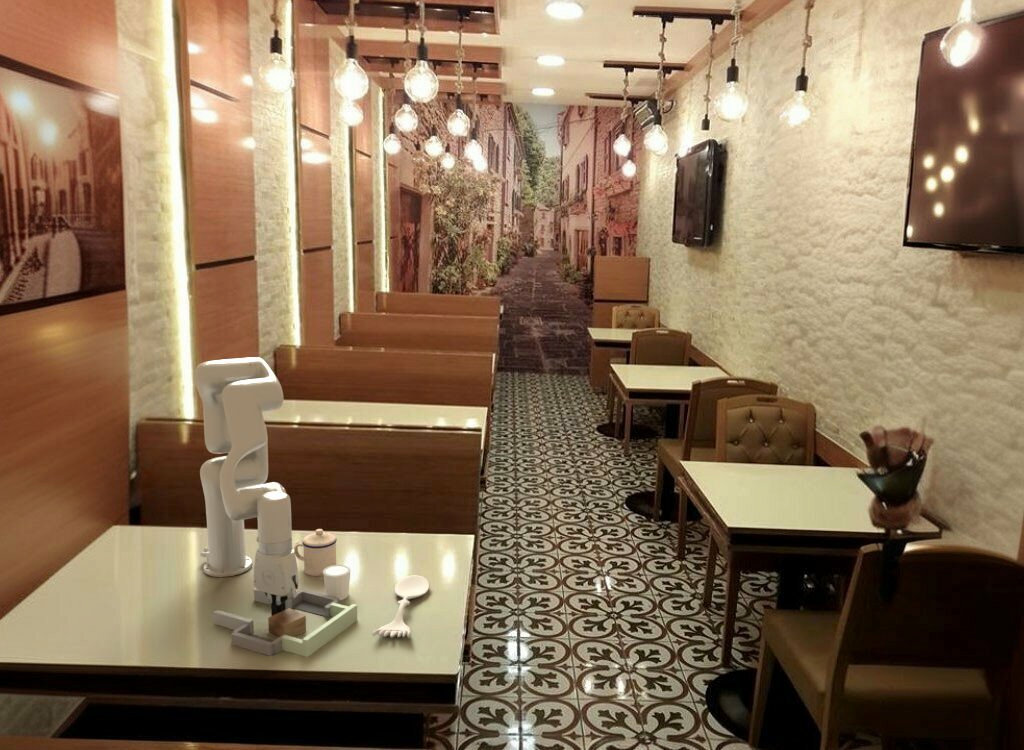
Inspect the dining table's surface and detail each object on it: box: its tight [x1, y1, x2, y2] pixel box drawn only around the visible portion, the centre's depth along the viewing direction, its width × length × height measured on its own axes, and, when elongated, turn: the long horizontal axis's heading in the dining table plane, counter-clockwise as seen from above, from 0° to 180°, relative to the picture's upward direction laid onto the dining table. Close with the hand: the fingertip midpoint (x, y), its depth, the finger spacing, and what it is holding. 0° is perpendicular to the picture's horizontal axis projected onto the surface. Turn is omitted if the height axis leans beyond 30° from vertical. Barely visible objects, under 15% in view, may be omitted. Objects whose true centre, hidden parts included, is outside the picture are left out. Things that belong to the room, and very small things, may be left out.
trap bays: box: [230, 589, 341, 657], centre depth 185 cm, size 12×25×2 cm, turn 155°
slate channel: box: [213, 587, 358, 658], centre depth 186 cm, size 29×18×4 cm, turn 65°
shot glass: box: [322, 564, 351, 601], centre depth 200 cm, size 7×7×7 cm
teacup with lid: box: [293, 528, 337, 577], centre depth 215 cm, size 12×9×12 cm
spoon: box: [371, 574, 431, 638], centre depth 193 cm, size 9×32×4 cm, turn 177°
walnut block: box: [267, 608, 307, 638], centre depth 182 cm, size 6×6×4 cm
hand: (278, 617), depth 186 cm, fingers closed
